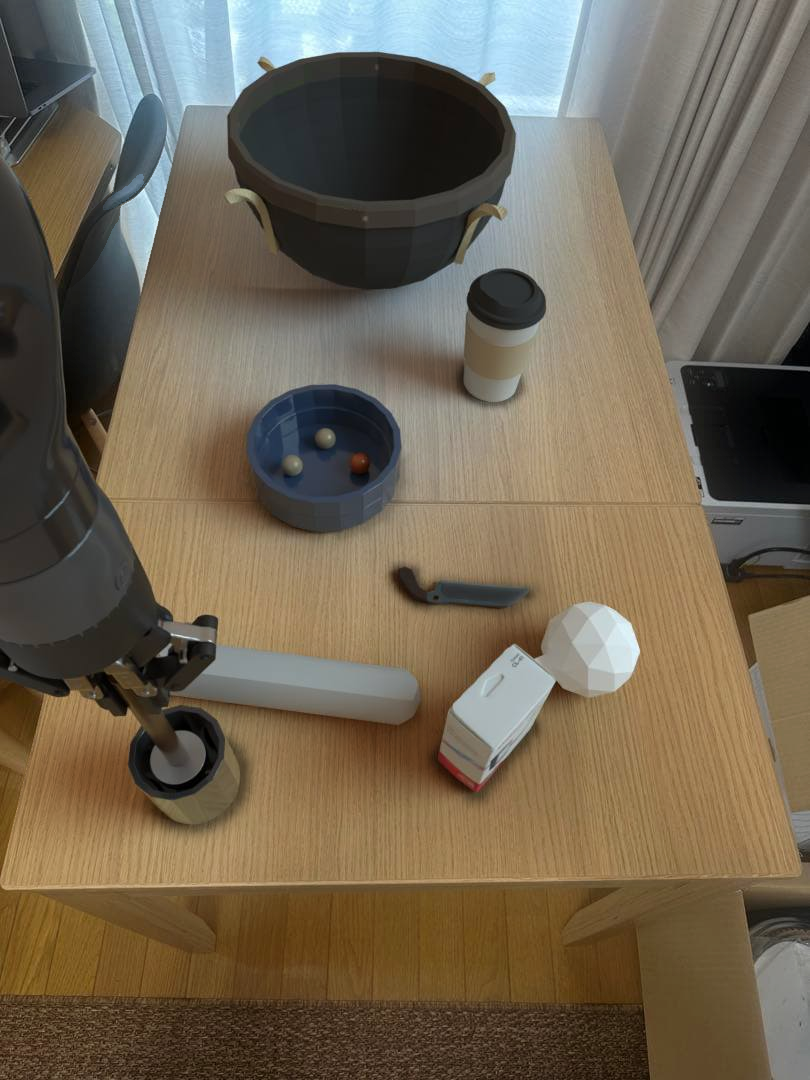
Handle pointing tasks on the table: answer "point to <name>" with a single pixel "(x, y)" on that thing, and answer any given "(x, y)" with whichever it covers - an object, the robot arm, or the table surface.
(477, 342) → the coffee cup
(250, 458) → the mixing bowl
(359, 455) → the bead
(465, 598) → the knife
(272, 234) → the bowl
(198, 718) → the holder
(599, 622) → the light bulb
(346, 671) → the tube
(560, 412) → the table surface
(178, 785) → the brown handled pestle
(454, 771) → the ink box
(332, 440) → the bead
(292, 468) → the bead
